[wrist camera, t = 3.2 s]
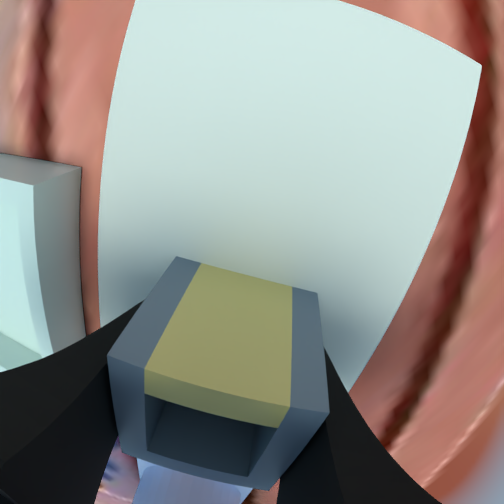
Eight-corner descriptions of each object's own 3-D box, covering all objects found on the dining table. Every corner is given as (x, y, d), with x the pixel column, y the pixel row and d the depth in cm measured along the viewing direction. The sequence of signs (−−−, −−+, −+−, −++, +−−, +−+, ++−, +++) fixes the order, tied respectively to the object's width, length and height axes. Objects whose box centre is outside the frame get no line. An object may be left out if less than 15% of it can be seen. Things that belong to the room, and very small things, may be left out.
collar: (277, 386, 11) (268, 490, 7) (165, 356, 11) (122, 452, 7) (317, 293, 9) (329, 413, 5) (176, 255, 9) (106, 354, 5)
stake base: (330, 398, 13) (335, 464, 10) (113, 341, 13) (76, 397, 10) (465, 68, 7) (533, 59, 4) (155, -13, 7) (101, -54, 4)
